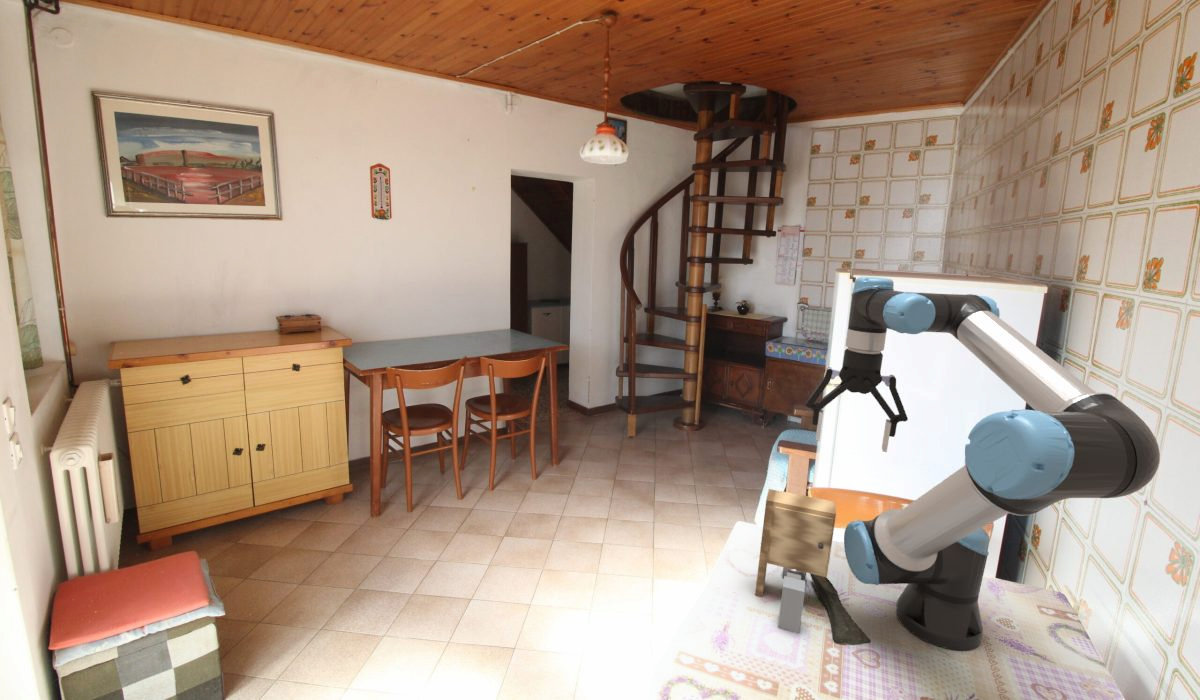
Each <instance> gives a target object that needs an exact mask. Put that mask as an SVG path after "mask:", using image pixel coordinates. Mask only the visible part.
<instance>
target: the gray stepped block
mask: <svg viewBox="0 0 1200 700" xmlns="http://www.w3.org/2000/svg"><path fill="white" fill-rule="evenodd" d="M781 592H782V593H781V599H780V607H779V616H778V623H777V628H778V629H782V630H785V631H788V632H791V633H796V634H800V628H801V621H802V615H803V614H802V613H803V605H804V599H805V592H806V580H805V581H803V580H801V575H797V574H793V573H789V572H787V576H784V579H783V583H782V591H781Z"/></svg>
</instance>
